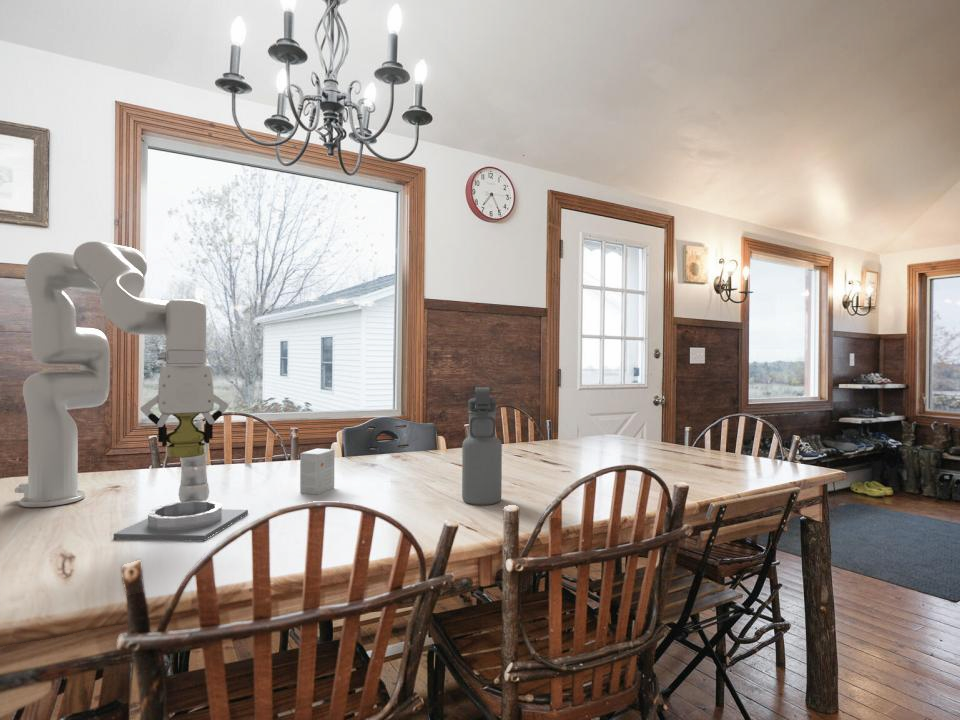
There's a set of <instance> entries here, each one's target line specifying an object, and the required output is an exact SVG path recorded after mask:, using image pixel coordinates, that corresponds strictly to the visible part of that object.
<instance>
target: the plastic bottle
mask: <svg viewBox="0 0 960 720" xmlns="http://www.w3.org/2000/svg"><path fill="white" fill-rule="evenodd" d="M193 423H194V424H195V425H196V427H198V428H199V430H201V431H203V429H204V424H203V419H194V420H193ZM201 442H203V443H205V442H204V440H203V441H201ZM205 444H206V445H205V454H203V455H200V456H195V457H186V458H180V465H181V467H180V468H181V472H180V473H181V474H180V485H179V487H178V499H179V502H186V501H208V499H209V497H210V496H209V495H210V488H209V487H210V486H209V482H208V473H207V463H208V462H207V460H208V451H209V446H210V445H209V444H210V442H209V443H205Z"/></svg>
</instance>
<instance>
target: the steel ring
mask: <svg viewBox="0 0 960 720" xmlns="http://www.w3.org/2000/svg"><path fill="white" fill-rule="evenodd" d="M222 509H223V508H222V503H221V502H218V501H214V500H206V501H186V502H181V501H177V502H172V503H169V504H164V505H159V506H157V507H155V508H153V509H150V510H148V514H147V519H148V528H150V529H153V530H156V531H180V530H189V529H196V528H200V527H204V526H207V525H211V524H214V523H215V522H217V521H219V520H221V519H222ZM193 513H199V514H195V515H188V516H179V517H172V516H177V515H184V514H193Z"/></svg>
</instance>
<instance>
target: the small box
mask: <svg viewBox="0 0 960 720" xmlns="http://www.w3.org/2000/svg"><path fill="white" fill-rule="evenodd" d="M299 456H300V458H299V463H300V464H299V467H300V471H299V472H300V473H299V475H300V477H299V479H300V481H299V482H300V483H299V484H300V486H299V487H300V488H299V491H300V494H309V495H320V494H322V493H325V492H327V491H329V490H331V489H335V449H334V448H333V449H331V448H314V449H311V450H307V451H303V452H300V453H299Z"/></svg>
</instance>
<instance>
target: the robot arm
mask: <svg viewBox="0 0 960 720" xmlns="http://www.w3.org/2000/svg"><path fill="white" fill-rule="evenodd" d="M147 272H148V263H147V261H146V259H145V256H144V255H143V254H142V253H141V252H140V251H139V250H138V249H135V248H132V247H130V246H129V247H128V246H123V245H119V244H113V243H108V242H103V241H87V242H84V243H82V244H80V245H79V246H77V247H76V249H75V250H74V252H73V254H69V253H62V252H46V251H45V252H39V253H36V254H35V255H33V256H32V257H31V258H30V259H29V260H28V262H27V264H26V267H25V272H24V281H25V288H26V291H27V294H28V299H29V301H30V306H31V354H32V358H33V359H34V360H35V362H37V363H39V364H41V365H47V366H48V365H49V366H79V367H80V369H79V370H46V371H40V372H36V373H33V374H31V375H29V376H28V377H27V378H26V379H25V380H24V382H23V385H22V395H23V396H22V397H23V400H24V404H25V409H26V415H27V431H28V432H27V438H28V439H27V440H28V441H27V444H28V445H27V450H28V451H27V453H28V454H27V455H28V456H27V457H28V458H27V460H28V461H27V462H28V463H27V465H28V466H27V469H28V470H27V471H28V473H27V478H28V479H27V482H28V483H20V484H18V486H16V487H15V488H14V492H15V494H22V493H23V497H22V498H20V499H19V505H20V506H21V507H25V508H47V507H53V506H54V507H55V506H61V505H66V504H72V503H76V502H79V501H81V500H83V499H85V497H86V491H83V490H80V489H79V490H78V488H79V487H78V485H79V483H78V477H79V476H78V472H79V471H78V469H79V466H78V461H79V458H78V454H79V452H78V451H79V449H78V445H79V444H78V443H79V442H78V441H79V438H78V437H79V435H78V426H77V423H76V421H75V420H74V418H73V417H72V416H71V415H70V414H69V412H68V410H75V409H85V408H86V409H87V408H95V407H99V406H101V405H103V404H104V403H106V401H107V400H108V397H109V394H110V380H111V378H110V377H111V375H110V374H111V373H110V372H111V371H110V370H111V351H110V349H111V348H110V343H109V340H108V338H107V336H106V335H105V333H104V332H102V331H101V330H99V329H97V328H93V327H79V326H78V327H77V322H76V317H77V312H76V307H75V305H74V302H73V301H72V300H71V299H70V297H69V296H68V295H67V293H66V292H65V291H63V290H66V291H67V290H68V291H74V292H83V293H93V294H99V305H100V309H101V311H102V313H103V314H104V317H106V318H107V320H109V321H110V322H111V323H112V324H113V325H114V326H115V327H117V329H119V330H121V331H122V332H125V333H127V334H130V335H142V336H143V335H149V336H164V337H165V338H164V339H165V347H164V348H165V350H164V352H161V353H157V357H156V359H157V361H163V363H165V365H161V367H160V371H159V379H158V389H157V395H155V396H154V397H153V398H152V399H150V400H148V401H147V402H146V403H144V404H142V406H140V411H141V412H142V413H143V414H144V416H146V417H147V418H148V419H149V420H150V421H151V422H152V423H154V424H155V425H156V427H157V428H158V430H157V432H158V433H157V440H158V443H161V446H162V447H165V448H166V446H167V445H168V442H167V434H168V433H167V432H168V431H167V430H168V429H167V428H168V427H167V426H166V422H167V420H168V419H169V417H170V416H171V415H172V416H173V415H176V414H198V413H199V414H202V416H203V418H204V419H205V423H204V424H203V432H205V439H204V442H205V443H209V444H210V440H212V439H213V437H214V435H213V434H214V433H213V430H214V429H213V424H214V423H215V422H217V420H219V418H221V416H222V415H223V414H224V413H225V411H226V410H227V409H228V408H229V404H228V403H227V402H226V401H225V400H223V399H222V398H220V397H218V396H217V395H215V394H214V380H213V372H212V368H211V365H207V306H206V305H205V303H204V302H203V301H200V300H196V299H186V298H184V299H182V298H181V299H178V298H176V299H171V300H162V299H155V298H154V299H153V298H152V299H151V298H142V297H138V296H139V295H140V294H141V293H142V291H143V290H144V287H145V276H146V274H147ZM214 403H216V404H217V405H218V408H217V409H216V411H215V412H213V413H212V414H211V413H210V412H212V411H213V410H214V407H215V405H214ZM156 405H157V409H158V411H159V412H160V416H159V417H158V416H157V415H156V414H155V413H153V411H152V410H151V408H153V407H155V406H156Z"/></svg>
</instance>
